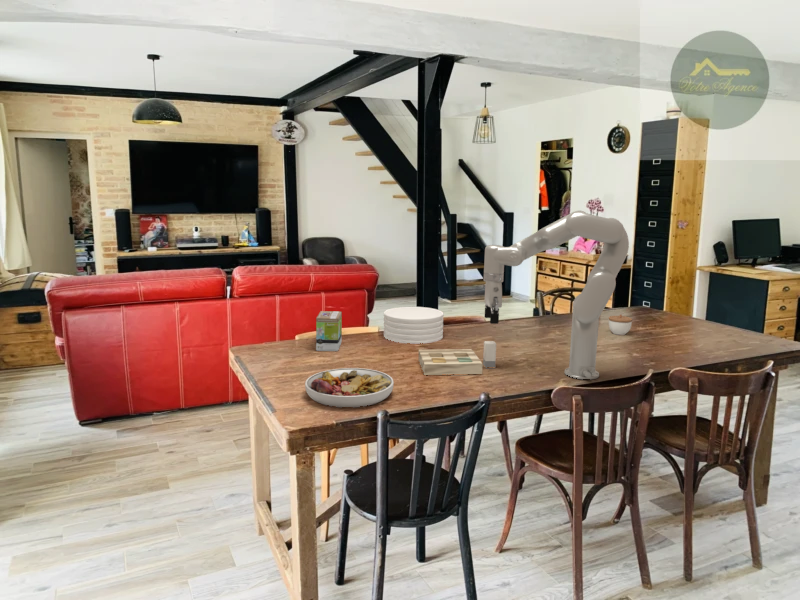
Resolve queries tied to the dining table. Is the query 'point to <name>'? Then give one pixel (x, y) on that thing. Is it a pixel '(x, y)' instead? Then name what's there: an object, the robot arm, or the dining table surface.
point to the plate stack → (413, 325)
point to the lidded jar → (620, 324)
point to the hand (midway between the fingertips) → (491, 320)
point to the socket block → (449, 362)
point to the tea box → (328, 331)
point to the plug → (489, 354)
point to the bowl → (349, 387)
